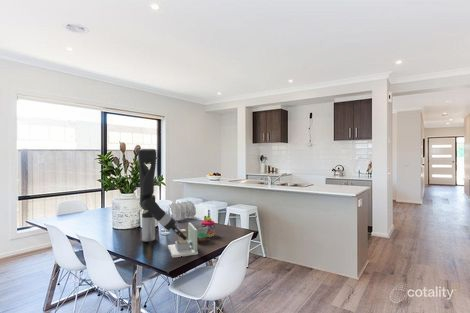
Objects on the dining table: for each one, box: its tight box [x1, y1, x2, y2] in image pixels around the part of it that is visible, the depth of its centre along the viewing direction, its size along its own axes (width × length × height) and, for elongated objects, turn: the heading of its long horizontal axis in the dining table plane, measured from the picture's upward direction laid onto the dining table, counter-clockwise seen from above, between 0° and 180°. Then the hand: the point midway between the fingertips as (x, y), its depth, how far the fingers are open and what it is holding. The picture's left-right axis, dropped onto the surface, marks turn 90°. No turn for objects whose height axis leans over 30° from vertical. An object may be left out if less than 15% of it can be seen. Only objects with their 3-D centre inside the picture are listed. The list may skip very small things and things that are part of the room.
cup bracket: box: [167, 222, 199, 258], centre depth 179 cm, size 20×16×16 cm
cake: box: [200, 215, 216, 238], centre depth 212 cm, size 10×11×15 cm
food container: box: [196, 226, 208, 243], centre depth 198 cm, size 12×6×10 cm, turn 126°
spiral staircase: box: [168, 200, 197, 222], centre depth 266 cm, size 18×18×25 cm
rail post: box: [177, 228, 188, 244], centre depth 179 cm, size 4×4×12 cm
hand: (184, 237), depth 179 cm, fingers open, 8 cm apart
